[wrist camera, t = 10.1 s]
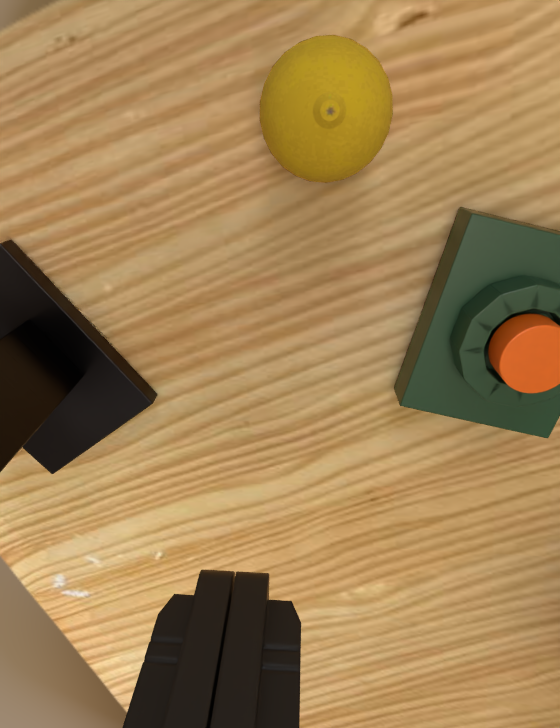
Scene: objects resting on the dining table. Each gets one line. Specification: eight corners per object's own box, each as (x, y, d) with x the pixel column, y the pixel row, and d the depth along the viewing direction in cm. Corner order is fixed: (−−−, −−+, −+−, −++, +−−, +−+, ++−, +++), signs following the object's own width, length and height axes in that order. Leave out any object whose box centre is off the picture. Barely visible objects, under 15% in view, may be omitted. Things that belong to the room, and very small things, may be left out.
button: (504, 305, 26) (518, 317, 24) (573, 322, 26) (591, 334, 24) (476, 369, 27) (487, 385, 25) (542, 384, 27) (557, 400, 26)
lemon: (265, 172, 27) (252, 190, 20) (266, 48, 24) (252, 15, 17) (372, 176, 27) (400, 194, 19) (384, 50, 24) (419, 18, 17)
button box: (459, 206, 27) (483, 218, 23) (620, 246, 28) (668, 264, 24) (393, 388, 32) (405, 422, 28) (532, 419, 32) (562, 457, 29)
